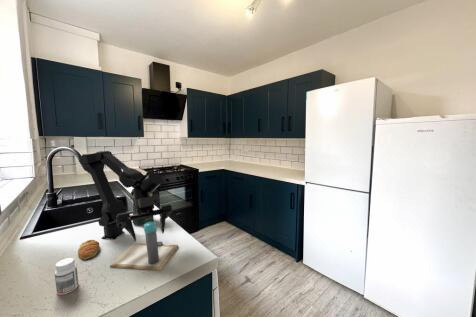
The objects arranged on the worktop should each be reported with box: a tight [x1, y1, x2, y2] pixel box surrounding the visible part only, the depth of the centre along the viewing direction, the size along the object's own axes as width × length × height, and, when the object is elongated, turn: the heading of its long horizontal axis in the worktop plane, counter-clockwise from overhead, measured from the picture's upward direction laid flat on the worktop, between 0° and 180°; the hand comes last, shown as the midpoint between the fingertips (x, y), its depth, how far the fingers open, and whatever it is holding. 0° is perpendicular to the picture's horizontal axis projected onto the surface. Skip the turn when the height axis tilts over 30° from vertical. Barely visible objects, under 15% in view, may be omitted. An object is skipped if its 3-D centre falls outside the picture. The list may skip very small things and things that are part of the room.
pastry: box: [77, 239, 101, 261], centre depth 73 cm, size 9×7×4 cm
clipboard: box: [109, 241, 179, 272], centre depth 71 cm, size 18×14×2 cm
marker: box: [143, 220, 159, 264], centre depth 66 cm, size 4×4×14 cm
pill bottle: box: [54, 257, 79, 296], centre depth 55 cm, size 5×5×8 cm
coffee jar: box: [130, 188, 155, 226], centre depth 100 cm, size 10×8×19 cm
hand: (149, 236), depth 69 cm, fingers open, 9 cm apart
